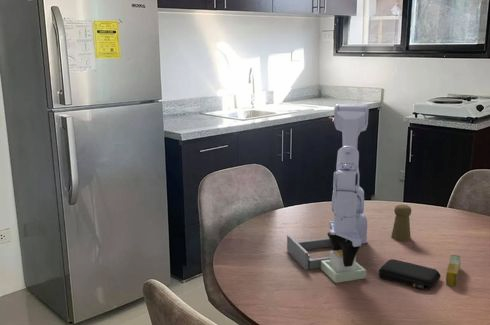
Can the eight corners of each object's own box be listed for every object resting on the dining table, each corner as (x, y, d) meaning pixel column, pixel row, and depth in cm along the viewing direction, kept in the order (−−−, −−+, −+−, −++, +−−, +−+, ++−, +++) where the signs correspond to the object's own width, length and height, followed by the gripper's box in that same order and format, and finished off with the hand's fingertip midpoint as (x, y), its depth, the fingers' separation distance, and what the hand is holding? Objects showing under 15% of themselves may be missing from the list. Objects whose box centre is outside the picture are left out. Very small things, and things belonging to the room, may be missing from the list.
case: (332, 244, 153) (333, 229, 151) (355, 262, 140) (355, 246, 138) (287, 250, 148) (287, 235, 147) (305, 269, 135) (305, 253, 134)
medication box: (449, 267, 137) (450, 254, 136) (460, 269, 135) (461, 255, 134) (445, 285, 126) (446, 271, 125) (456, 287, 125) (457, 273, 124)
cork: (406, 242, 154) (409, 209, 151) (388, 238, 157) (390, 206, 155) (413, 237, 158) (415, 204, 156) (395, 233, 162) (397, 201, 159)
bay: (349, 264, 139) (349, 256, 138) (365, 278, 130) (366, 270, 130) (320, 268, 136) (320, 260, 136) (335, 282, 128) (335, 274, 127)
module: (346, 265, 136) (346, 247, 135) (355, 273, 131) (355, 255, 130) (329, 268, 134) (330, 250, 133) (338, 275, 130) (338, 257, 129)
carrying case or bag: (373, 280, 130) (430, 295, 121) (374, 269, 129) (431, 284, 121) (387, 265, 138) (441, 279, 130) (388, 255, 138) (442, 268, 129)
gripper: (319, 207, 135) (318, 253, 138) (344, 224, 121) (342, 275, 124) (342, 204, 137) (340, 250, 140) (369, 221, 123) (366, 271, 126)
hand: (343, 261), depth 132 cm, fingers closed on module, 5 cm apart
